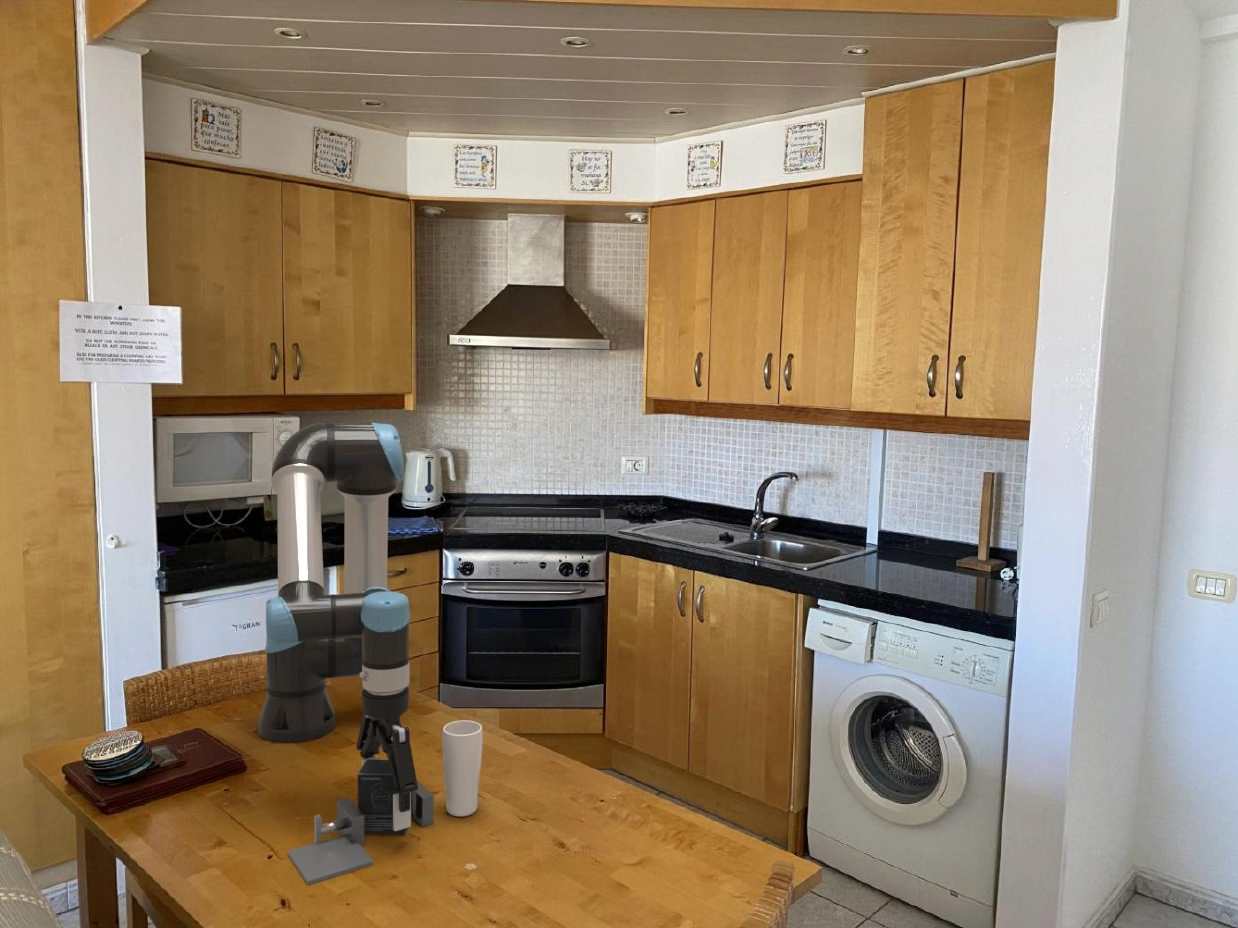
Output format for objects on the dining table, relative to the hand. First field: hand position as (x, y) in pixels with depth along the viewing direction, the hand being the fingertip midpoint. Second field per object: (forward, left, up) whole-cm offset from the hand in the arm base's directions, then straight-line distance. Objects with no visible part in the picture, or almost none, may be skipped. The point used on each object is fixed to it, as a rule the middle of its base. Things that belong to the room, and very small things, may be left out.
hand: (385, 810), depth 153 cm
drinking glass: (+2, +13, -3) cm, 13 cm away
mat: (+5, -11, -3) cm, 12 cm away
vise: (0, -2, -3) cm, 4 cm away
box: (0, 0, -3) cm, 3 cm away
